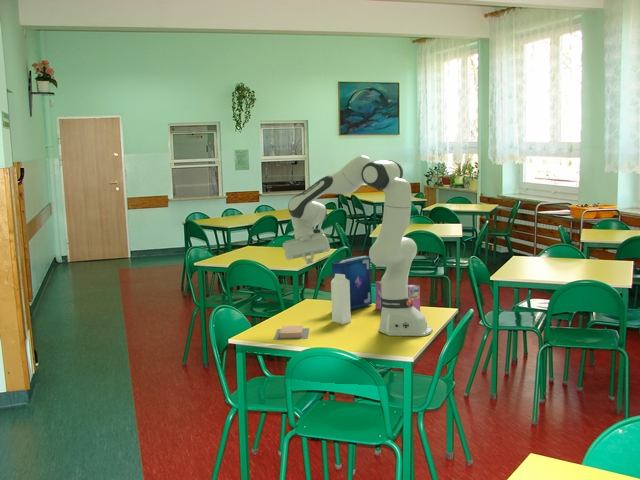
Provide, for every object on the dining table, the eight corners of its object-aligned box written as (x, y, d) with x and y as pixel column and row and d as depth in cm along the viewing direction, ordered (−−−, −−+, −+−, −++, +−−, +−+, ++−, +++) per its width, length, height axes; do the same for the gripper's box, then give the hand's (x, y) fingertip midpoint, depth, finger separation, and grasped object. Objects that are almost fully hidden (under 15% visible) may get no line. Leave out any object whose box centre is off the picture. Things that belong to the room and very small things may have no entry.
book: (341, 313, 309) (340, 261, 306) (331, 311, 314) (329, 260, 312) (372, 305, 324) (371, 255, 321) (362, 303, 329) (361, 254, 326)
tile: (282, 326, 276) (279, 333, 265) (303, 325, 276) (301, 332, 264) (282, 331, 277) (279, 338, 265) (303, 330, 276) (301, 338, 265)
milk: (342, 324, 287) (340, 275, 284) (332, 323, 291) (330, 274, 288) (351, 321, 291) (349, 273, 289) (340, 320, 295) (338, 272, 293)
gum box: (372, 308, 317) (372, 281, 315) (384, 305, 322) (383, 278, 320) (409, 316, 299) (408, 287, 297) (421, 313, 304) (420, 284, 302)
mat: (277, 330, 281) (277, 329, 281) (309, 329, 280) (309, 328, 280) (273, 341, 264) (273, 339, 264) (307, 340, 263) (307, 338, 263)
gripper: (280, 238, 288) (285, 264, 281) (325, 228, 288) (331, 254, 281) (283, 245, 294) (287, 271, 286) (327, 236, 294) (332, 261, 286)
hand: (309, 262), depth 284 cm, fingers closed
